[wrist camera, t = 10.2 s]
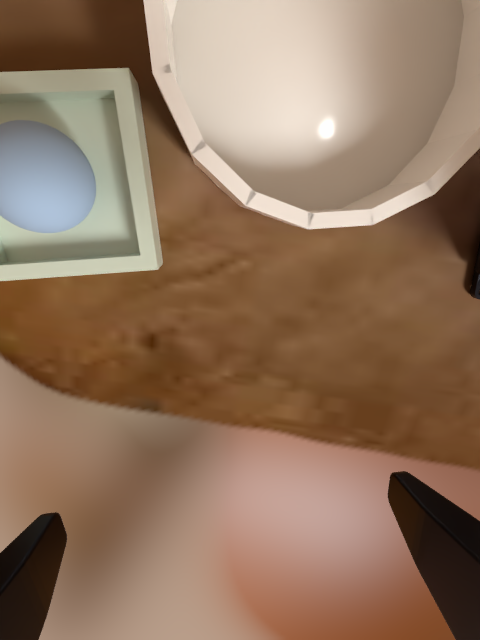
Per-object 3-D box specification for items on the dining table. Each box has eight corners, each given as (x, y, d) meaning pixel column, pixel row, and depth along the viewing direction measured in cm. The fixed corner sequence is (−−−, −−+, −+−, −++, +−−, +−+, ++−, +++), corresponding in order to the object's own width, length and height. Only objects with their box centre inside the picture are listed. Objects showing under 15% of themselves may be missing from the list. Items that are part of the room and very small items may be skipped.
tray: (138, 83, 16) (128, 67, 14) (163, 263, 19) (157, 269, 17) (-52, 90, 16) (-87, 74, 14) (5, 274, 19) (-17, 282, 17)
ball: (115, 226, 18) (86, 233, 13) (27, 232, 17) (-32, 241, 13) (97, 130, 16) (58, 103, 12) (0, 134, 16) (-77, 108, 11)
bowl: (488, -149, 14) (603, -296, 10) (436, 213, 20) (497, 216, 15) (137, -153, 13) (103, -316, 9) (181, 230, 19) (173, 238, 14)
